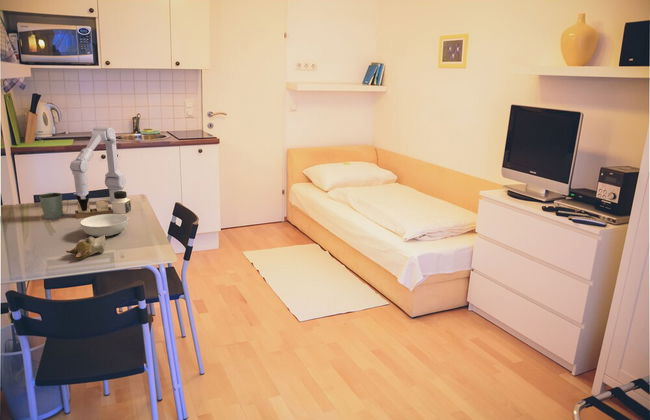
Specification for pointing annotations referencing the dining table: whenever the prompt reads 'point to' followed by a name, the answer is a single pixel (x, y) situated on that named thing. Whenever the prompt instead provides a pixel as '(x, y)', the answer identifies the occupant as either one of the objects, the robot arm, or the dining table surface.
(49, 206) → the green cylindrical pot
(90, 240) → the ceramic sculpture
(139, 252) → the dining table surface
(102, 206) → the block
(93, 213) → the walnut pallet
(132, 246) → the dining table surface
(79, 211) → the birch block
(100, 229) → the serving bowl
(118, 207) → the medicine bottle
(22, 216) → the dining table surface
